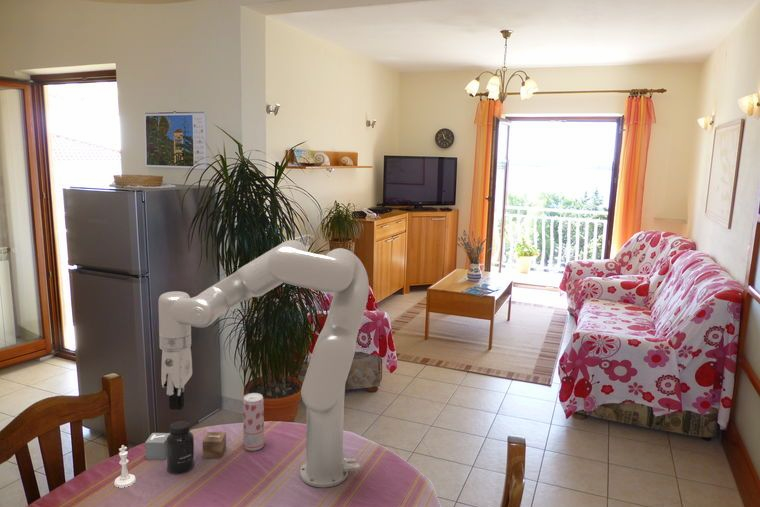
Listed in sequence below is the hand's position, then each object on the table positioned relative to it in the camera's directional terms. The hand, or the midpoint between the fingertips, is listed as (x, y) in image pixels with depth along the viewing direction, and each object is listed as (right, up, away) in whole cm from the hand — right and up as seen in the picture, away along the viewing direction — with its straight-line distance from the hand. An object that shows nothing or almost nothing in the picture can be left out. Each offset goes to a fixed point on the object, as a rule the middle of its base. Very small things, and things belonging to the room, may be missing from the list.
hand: (176, 407), depth 142 cm
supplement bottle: (0, -17, +3) cm, 17 cm away
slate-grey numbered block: (-8, -15, +9) cm, 20 cm away
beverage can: (+17, -15, +15) cm, 27 cm away
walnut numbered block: (+7, -16, +10) cm, 20 cm away
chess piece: (-12, -18, -4) cm, 22 cm away
